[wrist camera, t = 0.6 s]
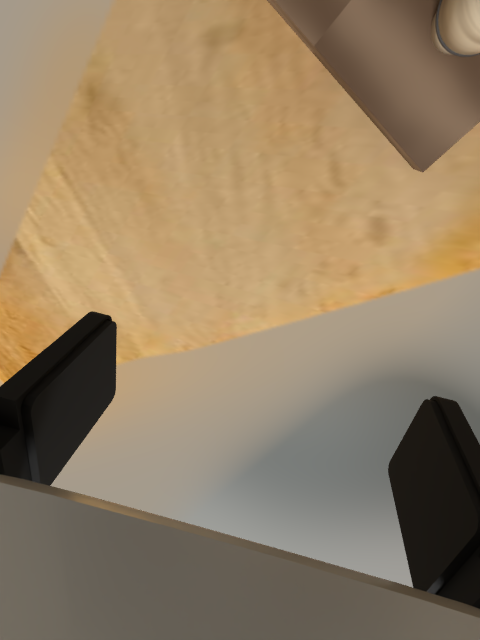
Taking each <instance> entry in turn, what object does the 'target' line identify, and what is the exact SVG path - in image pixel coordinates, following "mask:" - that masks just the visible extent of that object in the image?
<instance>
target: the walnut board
mask: <svg viewBox="0 0 480 640" xmlns="http://www.w3.org/2000/svg"><path fill="white" fill-rule="evenodd" d="M267 1H268V2H269V3H270V4H271V5H272V6H273V7H274V9H275V10H276V11H277V12H278V13H279V14H280V16H281V17H282V18H283V19H284V20H285V21H286V22H287V24H288V25H289V26H290V27H291V28H292V29H293V31H294V32H295V33H296V34H297V35H298V36H299V37H300V39H301V40H302V41H303V42H304V43H305V44H306V46H307V47H308V48H309V49H310V50H311V51H312V52H313V54H314V55H315V56H316V57H317V58H318V59H319V61H320V62H321V63H322V64H323V65H324V66H325V68H326V69H327V70H328V71H329V72H330V73H331V74H332V76H333V77H334V78H335V79H336V80H337V81H338V83H339V84H340V85H341V86H342V87H343V88H344V89H345V91H346V92H347V93H348V94H349V95H350V96H351V98H352V99H353V100H354V101H355V102H356V103H357V104H358V106H359V107H360V108H361V109H362V110H363V111H364V113H365V114H366V115H367V116H368V117H369V118H370V119H371V121H372V122H373V123H374V124H375V125H376V126H377V128H378V129H379V130H380V131H381V132H382V133H383V134H384V136H385V137H386V138H387V139H388V140H389V141H390V143H391V144H392V145H393V146H394V147H395V148H396V149H397V151H398V152H399V153H400V154H401V155H402V156H403V158H404V159H405V160H406V161H407V162H408V163H409V165H410V166H411V167H412V168H413V169H415V170H418V171H421V172H424V171H425V170H426V169H427V168H428V167H429V166H431V165H432V164H433V163H434V162H435V161H436V160H437V159H438V158H440V157H441V156H442V155H443V154H444V153H445V152H446V151H447V150H449V149H450V148H451V147H452V146H453V145H454V144H455V143H456V142H458V141H459V140H460V139H461V138H462V137H463V136H464V135H465V134H467V133H468V132H469V131H470V130H471V129H472V128H473V127H474V126H475V125H477V124H478V123H479V122H480V54H479V55H476V56H472V57H459V56H455V55H446V54H443V53H441V52H440V51H438V50H437V49H436V48H435V46H434V44H433V42H432V39H431V24H432V20H433V17H434V15H435V13H436V11H437V8H438V5H439V2H440V0H267Z"/></svg>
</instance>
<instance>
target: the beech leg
mask: <svg viewBox="0 0 480 640" xmlns="http://www.w3.org/2000/svg"><path fill="white" fill-rule="evenodd" d="M431 39H432V42H433V44H434V46H435V48H436V49H437V50H438V51H440V52H441V53H443V54H446V55H455V56H459V57H472V56H476V55H479V54H480V0H440V2H439V5H438V8H437V11H436V13H435V15H434V17H433V20H432V24H431Z"/></svg>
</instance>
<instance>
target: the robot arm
mask: <svg viewBox="0 0 480 640" xmlns="http://www.w3.org/2000/svg"><path fill="white" fill-rule="evenodd" d="M116 329H117V327H116V323H115V322H113V321H112V319H111V317H110V316H109V315H105V314H101V313H97V312H89V313H88V314H87V315H85V316H84V317H83V318H82V319H81V320H79V321H78V322H77V323H76V324H75V325H74V326H72V327H71V328H70V329H69V330H68V331H66V332H65V333H64V334H63V335H62V336H60V337H59V338H58V339H57V340H56V341H54V342H53V343H52V344H51V345H50V346H49V347H47V348H46V349H45V350H43V351H42V352H41V353H40V354H39V355H37V356H36V357H35V358H34V359H33V360H31V361H30V362H29V363H28V364H27V365H25V366H24V367H23V368H22V369H21V370H20V371H18V372H17V373H16V374H15V375H14V376H12V377H11V378H10V379H9V380H8V381H6V382H5V383H4V384H3V385H2V386H1V387H0V640H480V445H479V443H478V441H477V439H476V437H475V435H474V433H473V431H472V429H471V427H470V426H469V424H468V422H467V420H466V418H465V416H464V414H463V412H462V410H461V408H460V407H459V405H458V403H457V402H456V401H453V400H449V399H444V398H441V397H437V396H434V397H432V398H431V399H430V400H428V399H426V400H424V401H423V403H422V405H421V406H420V408H419V410H418V412H417V414H416V416H415V417H414V419H413V421H412V423H411V424H410V426H409V428H408V430H407V432H406V433H405V435H404V437H403V439H402V441H401V442H400V444H399V446H398V448H397V450H396V451H395V453H394V455H393V457H392V459H391V461H390V463H389V468H388V473H389V478H390V483H391V487H392V492H393V497H394V501H395V505H396V510H397V515H398V519H399V524H400V528H401V533H402V537H403V542H404V546H405V551H406V555H407V560H408V565H409V569H410V574H411V578H412V583H413V588H412V587H409V586H406V585H402V584H399V583H396V582H392V581H389V580H385V579H382V578H378V577H375V576H371V575H368V574H364V573H361V572H357V571H354V570H350V569H347V568H343V567H340V566H337V565H333V564H330V563H326V562H323V561H319V560H316V559H312V558H308V557H305V556H302V555H298V554H295V553H291V552H287V551H284V550H281V549H277V548H274V547H270V546H266V545H263V544H259V543H256V542H252V541H249V540H245V539H242V538H238V537H235V536H231V535H228V534H224V533H220V532H217V531H213V530H210V529H206V528H203V527H199V526H196V525H192V524H188V523H185V522H181V521H178V520H174V519H170V518H167V517H163V516H159V515H156V514H152V513H148V512H145V511H141V510H137V509H134V508H131V507H127V506H123V505H120V504H116V503H112V502H109V501H105V500H102V499H98V498H94V497H91V496H87V495H83V494H79V493H75V492H72V491H68V490H64V489H60V488H56V487H52V486H50V485H51V484H52V483H53V481H54V480H55V478H56V477H57V476H58V474H59V473H60V472H61V470H62V469H63V467H64V466H65V465H66V463H67V462H68V460H69V459H70V458H71V456H72V455H73V454H74V452H75V451H76V450H77V448H78V447H79V445H80V444H81V443H82V441H83V440H84V439H85V437H86V436H87V434H88V433H89V432H90V430H91V429H92V427H93V426H94V425H95V423H96V422H97V421H98V419H99V418H100V416H101V415H102V414H103V412H104V411H105V410H106V408H107V407H108V405H109V404H110V403H111V401H112V399H113V398H114V395H115V390H116Z"/></svg>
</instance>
